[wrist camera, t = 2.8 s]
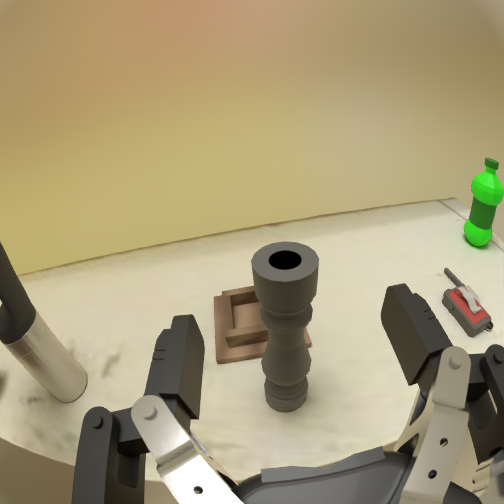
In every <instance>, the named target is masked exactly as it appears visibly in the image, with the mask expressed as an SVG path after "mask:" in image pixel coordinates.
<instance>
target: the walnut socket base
mask: <svg viewBox="0 0 504 504" xmlns="http://www.w3.org/2000/svg"><path fill="white" fill-rule="evenodd" d="M261 305H262V304H261V303H260V301H259V299H258V298H257V297H256V294H255V288H254V286H250V287H244V288H239V289H233V290H227V291H222V296H216V297H214V319H215V344H216V361H217V363H218V364H222V363H229V362H235V361H242V360H248V359H254V358H259V357H263V355H264V351H265V348H266V345H267V341H268V338H269V335H268V328H267V327H266V326H265V325H264V324H263V322H262V321H261V317H260V308H261ZM304 338H305V341H306V344H307V348H308V347H311V340H310V337H309V334H308V332H307V329H306V327H305V331H304Z"/></svg>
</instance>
